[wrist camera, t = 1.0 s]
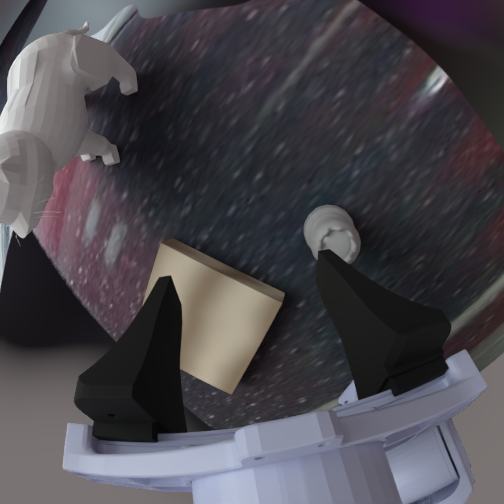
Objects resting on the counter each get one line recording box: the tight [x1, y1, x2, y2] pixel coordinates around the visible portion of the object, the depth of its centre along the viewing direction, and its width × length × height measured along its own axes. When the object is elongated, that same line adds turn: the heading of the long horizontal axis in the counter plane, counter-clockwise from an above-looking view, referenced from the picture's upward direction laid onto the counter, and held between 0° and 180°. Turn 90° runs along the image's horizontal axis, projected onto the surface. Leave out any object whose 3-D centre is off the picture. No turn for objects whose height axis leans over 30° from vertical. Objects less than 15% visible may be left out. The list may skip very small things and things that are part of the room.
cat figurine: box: [0, 22, 138, 238], centre depth 18 cm, size 25×10×17 cm, turn 8°
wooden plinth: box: [142, 238, 285, 394], centre depth 27 cm, size 12×12×2 cm
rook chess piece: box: [304, 205, 361, 264], centre depth 21 cm, size 4×4×8 cm
